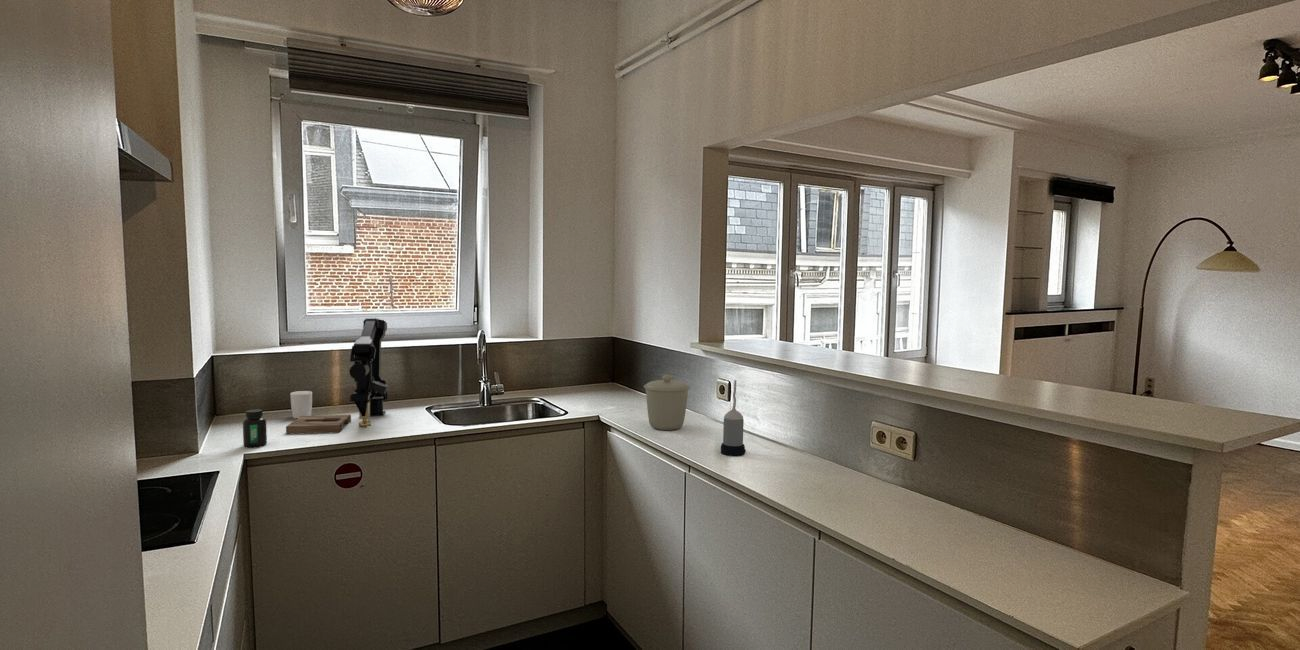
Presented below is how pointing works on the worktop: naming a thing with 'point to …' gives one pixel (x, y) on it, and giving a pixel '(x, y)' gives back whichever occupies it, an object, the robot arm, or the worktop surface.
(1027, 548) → the worktop surface
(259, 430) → the supplement bottle
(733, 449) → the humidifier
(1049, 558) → the worktop surface
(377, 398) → the robot arm
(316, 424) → the keyhole plate
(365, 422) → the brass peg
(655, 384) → the canister
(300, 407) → the white cup
